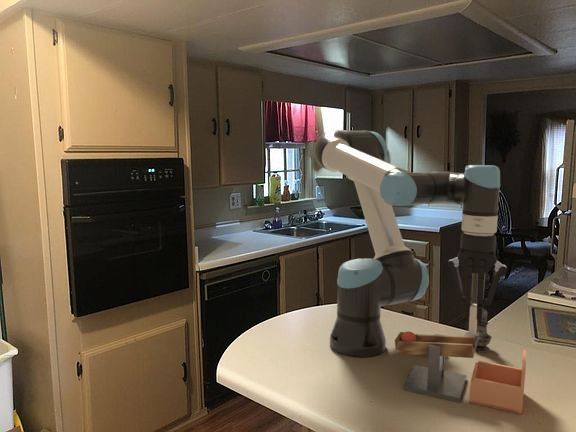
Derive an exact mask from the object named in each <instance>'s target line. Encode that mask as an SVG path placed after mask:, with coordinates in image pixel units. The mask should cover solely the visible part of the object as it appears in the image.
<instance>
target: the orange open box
mask: <svg viewBox="0 0 576 432" xmlns="http://www.w3.org/2000/svg"><path fill="white" fill-rule="evenodd" d="M521 362H522V363H521V368H520V367H514V366H509V365H504V364H498V363H494V362H488V361H484V360H478V362H476V361H475V363H474V366H473V371H472V373H471V378H470V387H469V400H468V401H469V402H468V403H470V404H474V405H478V406H483V407H487V408H492V409H496V410H501V411H505V412H510V413H512V414H513V413H514V414H519V415H523V408H524V407H523V406H524V405H523V404H524V396H525V395H524V393H525V381H526V380H525V379H526V367H527V349H523V351H522V360H521Z"/></svg>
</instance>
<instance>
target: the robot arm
mask: <svg viewBox="0 0 576 432" xmlns="http://www.w3.org/2000/svg"><path fill="white" fill-rule="evenodd" d="M387 154H388V146H387V143H386V141H385V139H384V137H383V136H382V135H381V134H379V133H378V132H376V131H373V130H372V131H371V130H366V129H362V130H347V129H346V130H344V129H331V130H328V131H326V132H324V133H322V134H321V135H320V136H319V137H317V139H316V141H315V143H314V146H313V156H314V160H315V161H316V162H317V164H318V165H319V166H320V167H322V168H323V169H325V170H327V171H329V172H331V173H332V172H333V173H341V174H342V175H345V176H346V177H347V179H348V180H351V181H353V183H354V186H355V189H356V193H357V195H358V201H359V203H360V206H361V207H360V208H361V210H362V212H363V216H364V219H365V220H364V221H365V222H366V223H365V224H366V227H367V230H368V233H369V236H370V240H371V244H372V247H373V251H374V254H375V255H374V257H373V258H356V259H350V260H348V261H345V262H343V263H342V264H341V265H340V266H339V269H338V271H337V272H338V273H337V279H336V283H337V295H336V297H337V299H336V301H337V303H336V320H335V322H334V324H333V326H332V329H331V333H330V336H329V346H330V348H331V349H333V351H335V352H337V353H340V354H342V355H346V356H350V357H358V358H359V357H361V358H366V357H367V358H368V357H374V356H377V355H378V356H379V355H380V354H383V353H384V352H385V351H386V347H387V339H386V336H385V332H384V329H383V325H382V322H381V307H385V306H386V307H387V306H391V305H396V304H403V303H405V304H408V303H410V302H413V301H417V300H420V299H421V298H422V297H423V296H424V295H425V293H427V292H426V291H427V288H428V287H429V282H430V281H429V280H430V277H429V271H428V268H427V266H426V264H425V263H424V262H422V260H420V259H417V258H415V256H414V254H413V250H412V249H410V248H409V247H407V246H405V242H404V239H403V237H402V233H401V231H400V228H399V224H398V221H397V218H396V214H395V211H394V209H393V206H398V207H406V206H417V205H418V206H419V205H434V204H450V205H451V204H453V205H460V206H462V211H461V212H462V216H461V228H460V229H461V230H462V233H461V234H460V247H459V249H460V250H459V251H458V254H457V257H454V258H451V259H449V260H448V261H447V263H446V264H447V266H448V267H449V269H450V270H451V275H452V280H453V285H454V290H455V295H456V300H457V301H458V302H459V303H462V304H464V318H465V319H469V321H468V332H469V334H476V329H477V320H481V319H482V315H483V309H484V308H483V307H487V306H489V307H490V306H491V305H492V303H493V299H494V297H495V293H496V291H497V288H498V286H499V282H500V280H501V277H502V275H504V273H505V272H506V271H507V265H506V264H502V263H501V262H500V261H498V257H497V254H496V248H497V244H496V243H497V236H496V233H497V231H498V219H499V218H498V217H499V215H498V214H499V212H498V209H499V200H500V199H499V198H500V191H501V186H502V185H501V171H500V170H501V169H500V168H499V167H498V166H496V165H493V164H492V165H487V164H486V165H484V164H469V165H466V166H465V169H464V172H454V171H453V172H451V171H445V170H441V171H440V170H439V171H437V170H436V171H431V172H430V171H429V172H414V171H413V172H411V171H408V170H406V169H404V168H401V167H399V166H396V165H394V164H393V163H391V162H387V159H388V155H387ZM460 264H461V265H462V268H463V269H464V270H465V271H466V281H465V282H466V284H465V295H464V291H463V284H462V280H461V275H460V269H459V265H460ZM493 266H495V267H494V271H495V274H494V276H493V279H492V283H491V285H490V288H489V291H488V294H487V297H486V298H485V287H486V286H485V285H486V282H485V281H486V273H488V272H489V271H490V270H491V269H492V268H493ZM474 274H478V277H477V278H478V281H477V299H476V303H472V301H473V300H472V299H473V288H474V287H473V286H474V285H473V284H474Z"/></svg>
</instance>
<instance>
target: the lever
mask: <svg viewBox="0 0 576 432" xmlns="http://www.w3.org/2000/svg"><path fill="white" fill-rule="evenodd" d="M404 332H405V331H400V332H399V333H398V335H397V336H396V337H395V339H394V347H395V351H399V354H400V355H419V356H429V345H435V346H441V356H445V357H450V358H467V359H474V356H475V353H476V351H475V350H476V347H477V343H478V340H479V333H476V334H469V331H467V332H465V334H464V336H463V335H447V334H446V335H445V334H444V335H443V334H438V335H435V334H417V333H414V334H415V336H416V341H401V336H402V334H403V333H404Z"/></svg>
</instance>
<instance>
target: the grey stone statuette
mask: <svg viewBox="0 0 576 432" xmlns="http://www.w3.org/2000/svg"><path fill="white" fill-rule="evenodd" d="M484 307H485V306H484ZM484 307H483V315H482V319H481V320H477V329H476V333H479V340H478V343H477V347H476V350H475V352H477V353H488V352H490V351H491V349H490V348H489V346H488V345H489V344H490V343H491V340H492V339H493V337H492V336H491V334H489V333H488V331H487V329H488V328H487V327H488V325H489V322H488V310H487V309H484Z"/></svg>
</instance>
